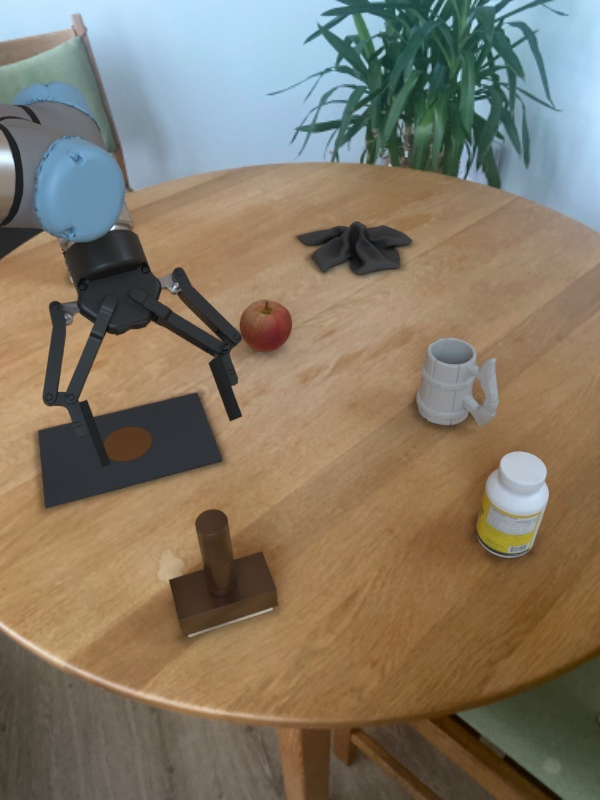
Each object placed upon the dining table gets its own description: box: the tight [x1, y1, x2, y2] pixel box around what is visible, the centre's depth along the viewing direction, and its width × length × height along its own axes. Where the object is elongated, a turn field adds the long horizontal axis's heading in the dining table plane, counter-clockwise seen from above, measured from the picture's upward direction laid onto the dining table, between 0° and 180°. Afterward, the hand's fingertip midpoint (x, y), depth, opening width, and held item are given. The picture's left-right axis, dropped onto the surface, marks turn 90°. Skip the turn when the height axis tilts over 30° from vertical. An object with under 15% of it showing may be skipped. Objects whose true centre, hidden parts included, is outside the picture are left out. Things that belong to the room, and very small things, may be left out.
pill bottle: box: [475, 450, 550, 559], centre depth 73 cm, size 6×6×12 cm
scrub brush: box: [168, 508, 279, 638], centre depth 66 cm, size 10×5×14 cm, turn 110°
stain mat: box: [37, 392, 223, 509], centre depth 89 cm, size 22×14×1 cm, turn 110°
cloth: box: [296, 220, 413, 275], centre depth 126 cm, size 22×19×6 cm
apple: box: [239, 299, 293, 353], centre depth 103 cm, size 8×8×8 cm
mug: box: [415, 336, 500, 428], centre depth 88 cm, size 8×12×12 cm, turn 41°
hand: (173, 442), depth 67 cm, fingers open, 13 cm apart
